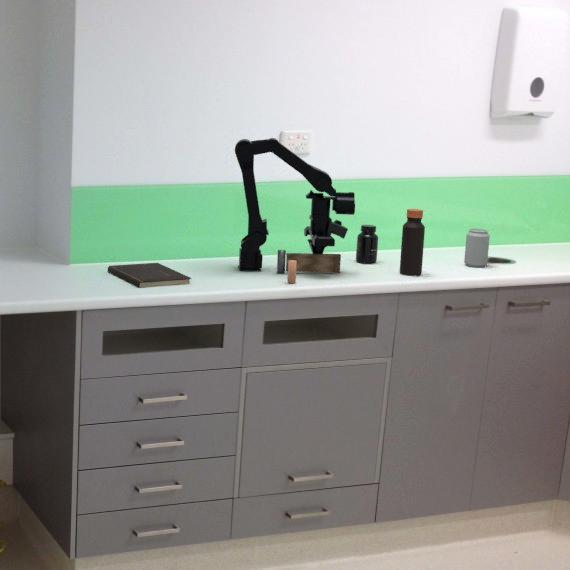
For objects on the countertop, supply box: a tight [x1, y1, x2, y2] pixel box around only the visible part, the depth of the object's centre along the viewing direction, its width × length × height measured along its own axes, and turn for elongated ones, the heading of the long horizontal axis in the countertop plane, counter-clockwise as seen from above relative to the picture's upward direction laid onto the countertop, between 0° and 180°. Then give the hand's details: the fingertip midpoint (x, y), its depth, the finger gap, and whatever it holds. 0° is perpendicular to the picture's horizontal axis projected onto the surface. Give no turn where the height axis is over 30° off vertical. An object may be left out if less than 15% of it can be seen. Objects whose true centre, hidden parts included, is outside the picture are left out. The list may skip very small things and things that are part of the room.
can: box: [463, 228, 491, 268], centre depth 349 cm, size 8×8×12 cm
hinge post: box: [276, 249, 287, 275], centre depth 323 cm, size 2×2×7 cm
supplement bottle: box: [355, 224, 379, 265], centre depth 347 cm, size 7×7×12 cm
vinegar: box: [399, 208, 426, 277], centre depth 330 cm, size 7×7×20 cm
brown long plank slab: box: [285, 252, 342, 274], centre depth 324 cm, size 16×2×6 cm, turn 98°
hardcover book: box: [107, 262, 192, 289], centre depth 309 cm, size 16×23×2 cm
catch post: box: [287, 260, 297, 285], centre depth 310 cm, size 2×2×6 cm
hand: (317, 263), depth 328 cm, fingers closed
